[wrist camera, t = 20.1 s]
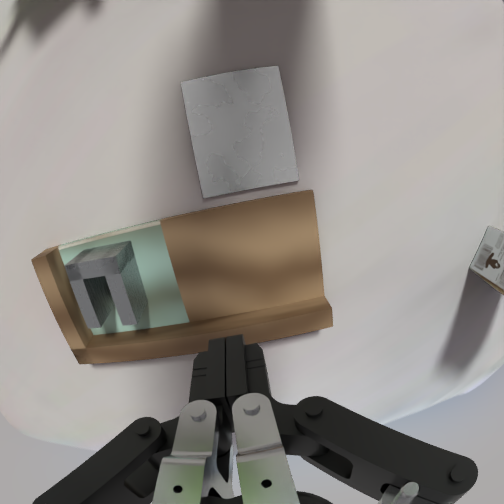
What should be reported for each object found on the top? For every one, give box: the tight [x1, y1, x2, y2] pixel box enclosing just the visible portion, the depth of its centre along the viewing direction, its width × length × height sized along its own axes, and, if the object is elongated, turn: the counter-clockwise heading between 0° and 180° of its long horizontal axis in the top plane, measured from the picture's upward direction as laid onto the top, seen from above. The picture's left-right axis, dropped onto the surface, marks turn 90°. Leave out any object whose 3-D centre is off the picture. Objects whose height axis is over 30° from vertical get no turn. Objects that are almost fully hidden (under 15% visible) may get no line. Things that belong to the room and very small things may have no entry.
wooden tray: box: [31, 190, 333, 364], centre depth 25 cm, size 12×26×3 cm, turn 100°
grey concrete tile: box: [181, 66, 299, 198], centre depth 22 cm, size 10×8×1 cm
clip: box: [64, 240, 148, 329], centre depth 23 cm, size 6×5×4 cm
